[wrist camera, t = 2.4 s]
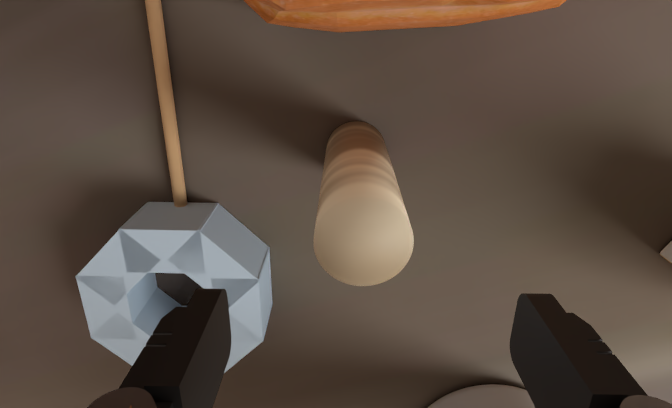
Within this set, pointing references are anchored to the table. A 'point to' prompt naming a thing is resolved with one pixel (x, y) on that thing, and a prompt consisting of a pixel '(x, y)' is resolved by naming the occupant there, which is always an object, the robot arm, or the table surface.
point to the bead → (176, 257)
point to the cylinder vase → (486, 398)
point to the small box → (667, 252)
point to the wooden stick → (166, 100)
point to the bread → (389, 12)
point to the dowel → (361, 210)
